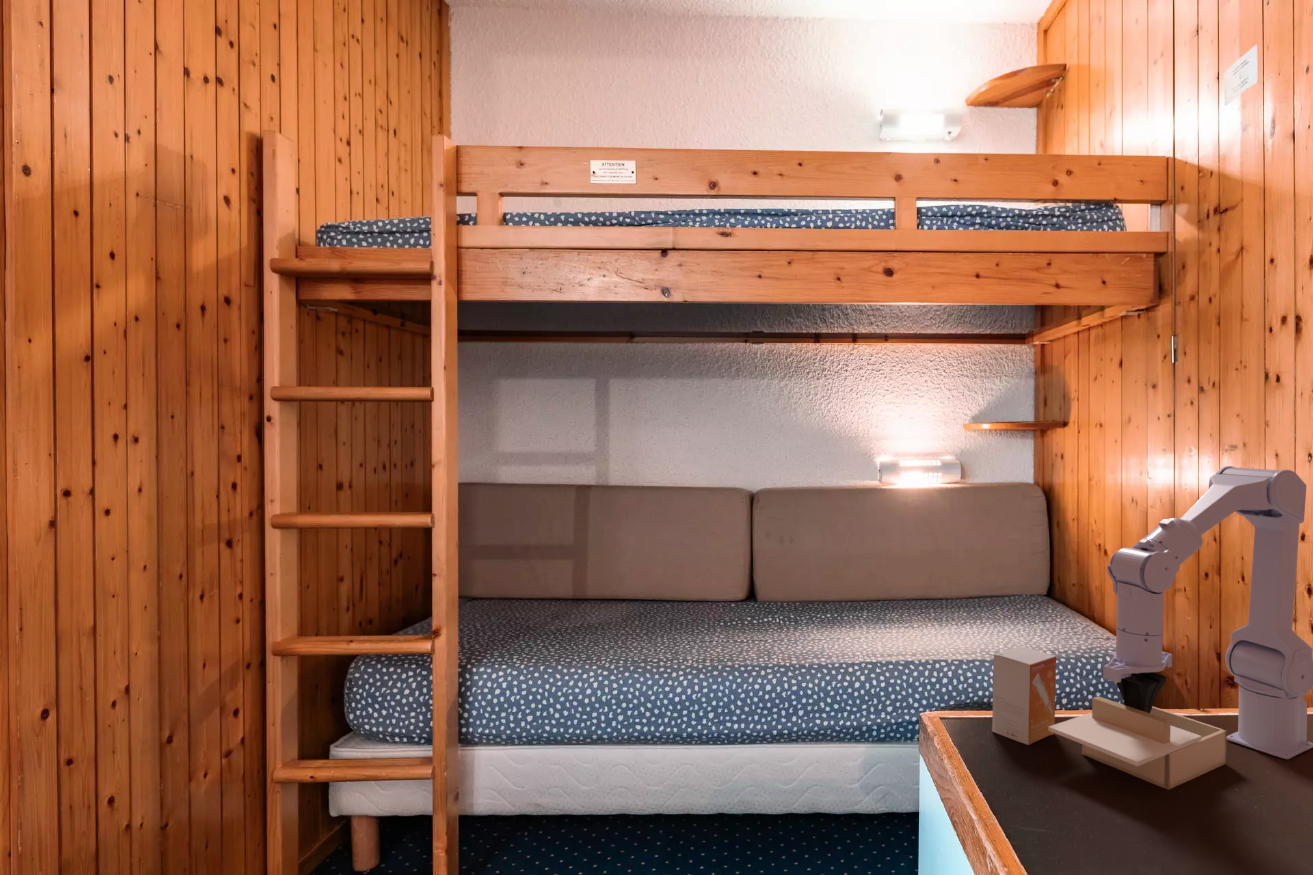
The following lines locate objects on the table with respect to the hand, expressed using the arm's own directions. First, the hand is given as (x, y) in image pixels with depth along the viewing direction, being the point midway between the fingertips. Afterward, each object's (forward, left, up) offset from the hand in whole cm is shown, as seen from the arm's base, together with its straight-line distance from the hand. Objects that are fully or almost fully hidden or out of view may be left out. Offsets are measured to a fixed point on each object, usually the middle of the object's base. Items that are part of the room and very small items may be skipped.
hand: (1137, 721), depth 106 cm
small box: (+5, -15, -7) cm, 17 cm away
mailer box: (-4, 0, -7) cm, 8 cm away
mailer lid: (+4, 0, -1) cm, 4 cm away
